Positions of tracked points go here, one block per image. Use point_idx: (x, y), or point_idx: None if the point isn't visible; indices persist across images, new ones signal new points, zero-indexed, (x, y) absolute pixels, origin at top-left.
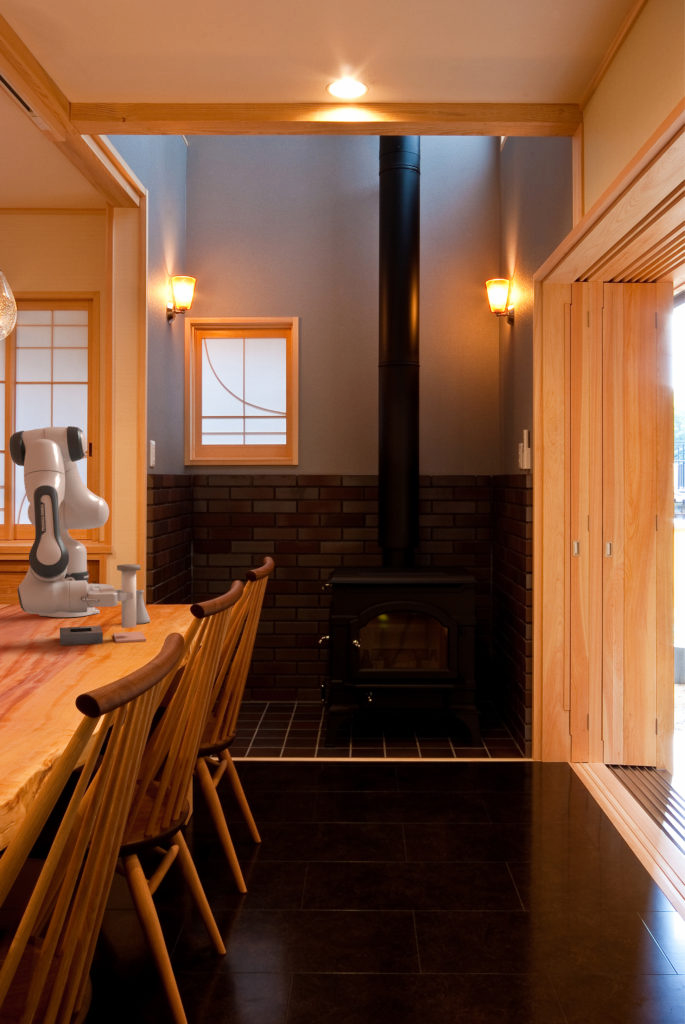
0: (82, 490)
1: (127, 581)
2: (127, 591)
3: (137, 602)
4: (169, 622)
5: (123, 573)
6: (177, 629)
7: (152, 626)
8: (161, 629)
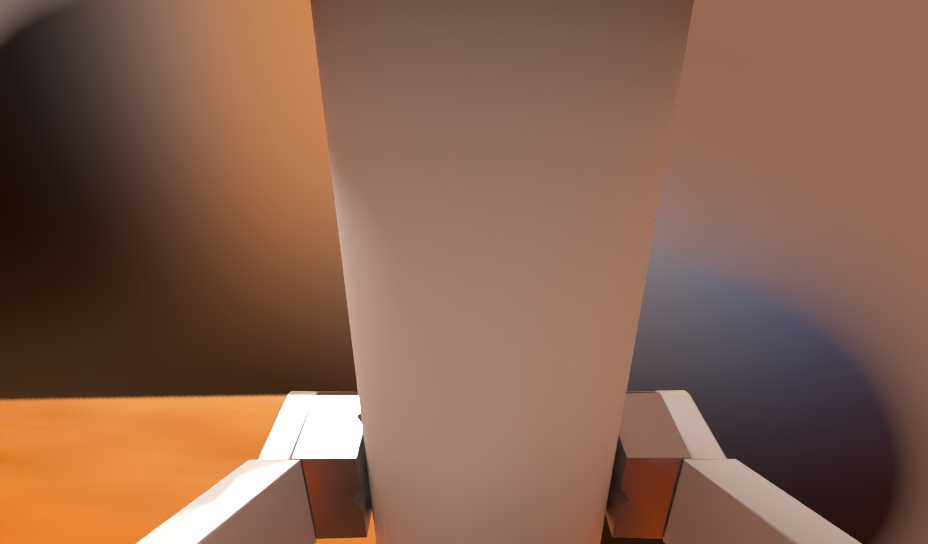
0: None
1: (648, 257)
2: (619, 425)
3: None
4: (19, 418)
5: (650, 85)
6: (279, 409)
7: (51, 517)
8: (215, 478)
